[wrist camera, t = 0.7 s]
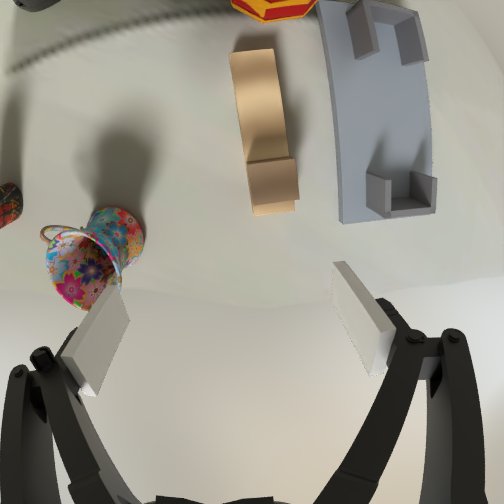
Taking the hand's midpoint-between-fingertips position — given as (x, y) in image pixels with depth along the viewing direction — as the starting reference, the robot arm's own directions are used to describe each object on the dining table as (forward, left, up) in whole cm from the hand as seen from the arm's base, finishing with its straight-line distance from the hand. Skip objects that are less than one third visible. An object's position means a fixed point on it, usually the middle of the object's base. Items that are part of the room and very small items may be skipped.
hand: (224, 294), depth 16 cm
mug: (0, -16, -19) cm, 25 cm away
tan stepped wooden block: (-9, +5, -19) cm, 22 cm away
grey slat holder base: (-11, +21, -19) cm, 30 cm away
